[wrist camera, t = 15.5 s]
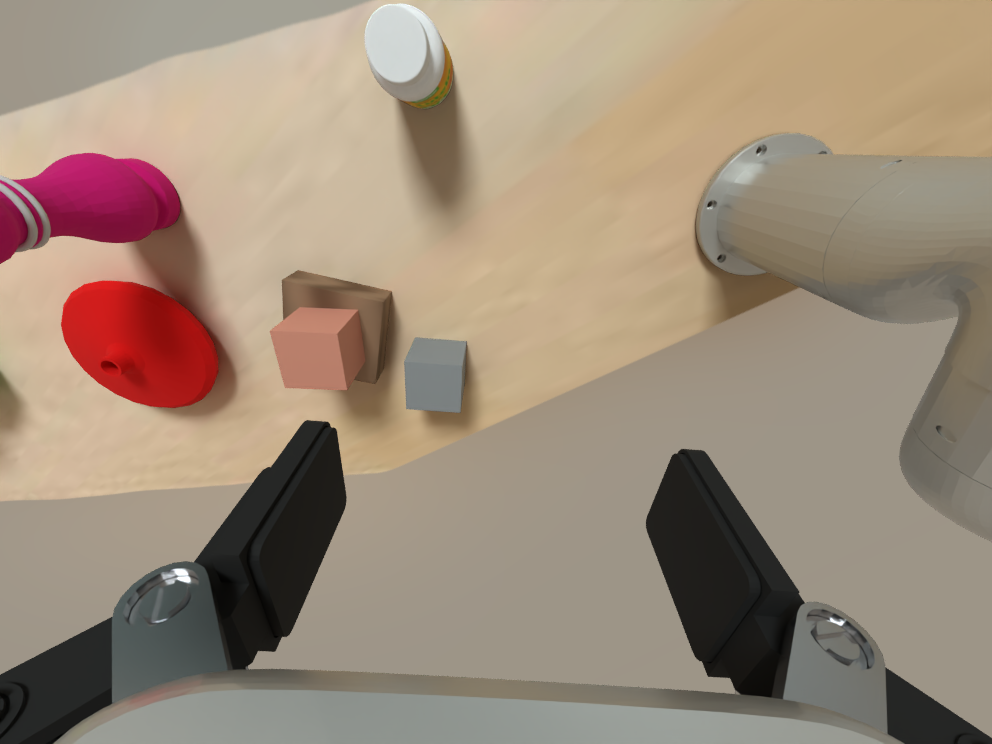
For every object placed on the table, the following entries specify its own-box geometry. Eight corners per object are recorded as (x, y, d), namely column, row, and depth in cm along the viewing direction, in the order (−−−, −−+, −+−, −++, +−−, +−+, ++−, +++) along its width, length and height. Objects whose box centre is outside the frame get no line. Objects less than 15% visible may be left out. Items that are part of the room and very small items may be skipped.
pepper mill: (89, 170, 37) (-270, 189, 20) (147, 139, 36) (-183, 131, 19) (146, 243, 41) (-118, 314, 23) (202, 217, 39) (-35, 272, 22)
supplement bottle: (427, 124, 35) (404, 116, 27) (378, 73, 33) (336, 48, 25) (467, 69, 33) (455, 42, 25) (416, 11, 31) (384, -38, 23)
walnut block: (392, 290, 43) (383, 302, 40) (384, 366, 48) (375, 383, 45) (299, 269, 42) (282, 280, 39) (301, 349, 47) (285, 365, 44)
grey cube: (466, 341, 46) (462, 365, 41) (464, 384, 49) (460, 412, 44) (415, 337, 46) (404, 361, 40) (416, 381, 49) (406, 408, 43)
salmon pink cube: (358, 309, 40) (337, 333, 35) (365, 361, 43) (347, 390, 38) (299, 307, 40) (269, 330, 35) (310, 358, 43) (285, 387, 38)
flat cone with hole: (258, 375, 49) (222, 408, 43) (155, 407, 51) (109, 442, 45) (168, 253, 41) (110, 271, 35) (54, 297, 44) (-18, 321, 38)
